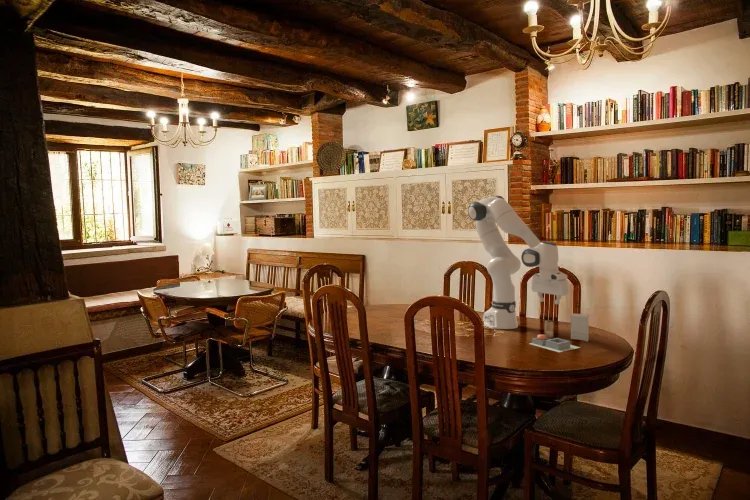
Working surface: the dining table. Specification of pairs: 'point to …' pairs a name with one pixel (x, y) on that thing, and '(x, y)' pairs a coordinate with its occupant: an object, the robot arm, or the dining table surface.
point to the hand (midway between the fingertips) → (549, 302)
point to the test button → (541, 337)
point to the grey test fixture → (554, 344)
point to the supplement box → (579, 327)
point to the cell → (549, 328)
